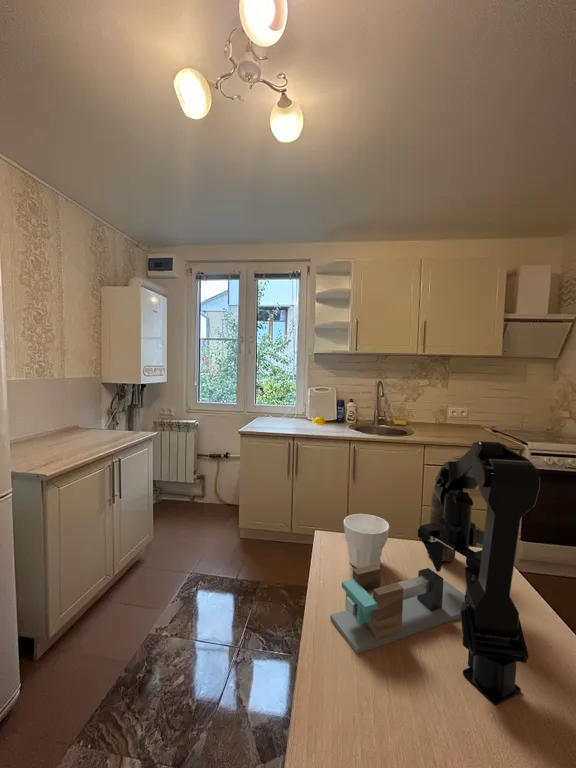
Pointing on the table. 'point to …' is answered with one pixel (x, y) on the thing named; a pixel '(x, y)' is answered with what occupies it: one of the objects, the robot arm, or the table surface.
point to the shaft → (415, 591)
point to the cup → (365, 538)
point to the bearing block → (381, 602)
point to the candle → (435, 516)
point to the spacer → (360, 600)
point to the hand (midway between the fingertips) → (453, 581)
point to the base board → (413, 620)
